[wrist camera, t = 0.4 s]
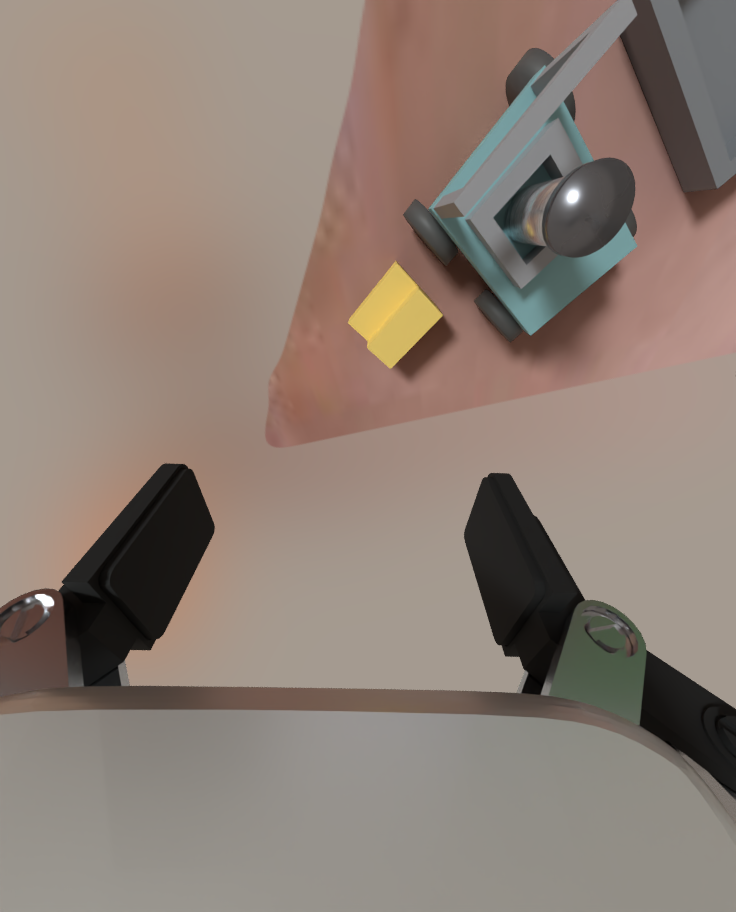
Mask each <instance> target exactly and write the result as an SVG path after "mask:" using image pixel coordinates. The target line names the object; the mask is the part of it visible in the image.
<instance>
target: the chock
mask: <svg viewBox="0 0 736 912" xmlns="http://www.w3.org/2000/svg"><path fill="white" fill-rule="evenodd" d="M442 316H443V314H442V313H441V311H440V310H439V309H438V307H437V306H436V304H435V303H434V302H433V301H432V300H431V299H430V298H429V297H428V296H427V295H426V293H425V292H424V291H423V290H422V289H421V288H420V287H419V286H418V285H417V284H416V282H415V281H414V280H413V279H412V278H411V277H410V276H409V275H408V274H407V272H406V271H405V270H404V269H403V268H402V267H401V266H400V265H399V264H398V263H397V261H395V263H394V264H393V265H392V266H391V268H390V269H389V270H388V271H387V273H386V274H385V275H384V276H383V278H382V279H381V280H380V281H379V283H378V284H377V285H376V286H375V287H374V289H373V290H372V291H371V292H370V294H369V295H368V296H367V297H366V299H365V300H364V301H363V302H362V304H361V305H360V306H359V307H358V309H357V310H356V311H355V312H354V314H353V315H352V316H351V317H350V319H349V322H348V323H349V324H350V325H351V326H352V327H353V328H354V329H355V330H356V331H357V332H358V333H359V334H361V335H362V336H363V337H364V338H365V339H366V340H367V341H368V345H367V348H368V349H369V350H370V351H371V352H372V353H373V354H374V355H376V356H377V357H378V358H379V359H380V360H381V361H382V362H383V363H384V364H385V365H387V366H388V367H389V368H390V369H391V368H392V367H393V366H394V365H395V364H396V363H397V362H398V361H399V360H400V359H401V358H402V357H403V356H404V355H405V354H406V353H407V352H408V351H409V350H410V349H411V348H412V347H413V345H414V344H415V343H416V342H417V341H418V340H419V339H420V338H421V337H422V336H423V335H424V334H425V333H426V332H427V331H428V330H429V329H430V328H431V327H432V326H433V325H434V324H435V323H436V322H437V321H438V320H439V319H440V318H441V317H442Z"/></svg>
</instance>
